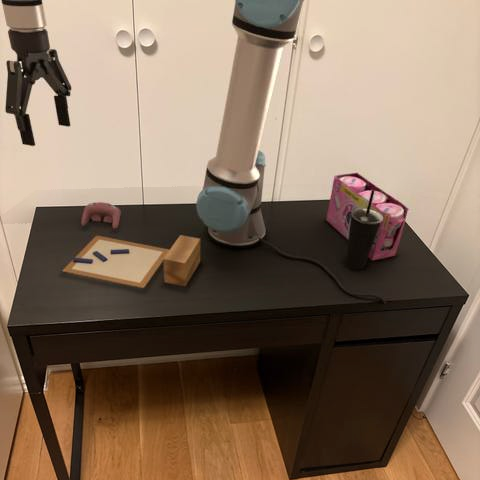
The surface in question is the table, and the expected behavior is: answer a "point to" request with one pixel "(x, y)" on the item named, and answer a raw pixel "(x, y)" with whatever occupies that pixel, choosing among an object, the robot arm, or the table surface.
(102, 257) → the stroke
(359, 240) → the drinking cup
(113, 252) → the stroke
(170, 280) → the eraser
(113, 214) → the video game controller
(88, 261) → the stroke
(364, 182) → the gum box
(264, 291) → the table surface
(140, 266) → the board
